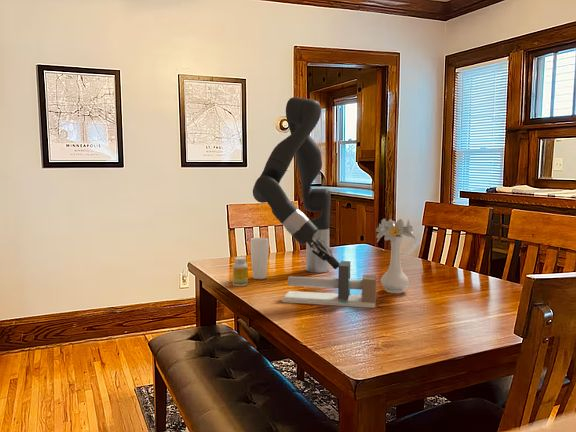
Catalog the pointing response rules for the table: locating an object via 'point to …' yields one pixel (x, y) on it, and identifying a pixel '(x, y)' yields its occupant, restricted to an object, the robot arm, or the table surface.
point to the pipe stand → (330, 298)
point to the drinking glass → (259, 257)
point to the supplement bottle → (240, 272)
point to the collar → (343, 280)
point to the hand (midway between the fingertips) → (337, 267)
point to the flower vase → (394, 254)
